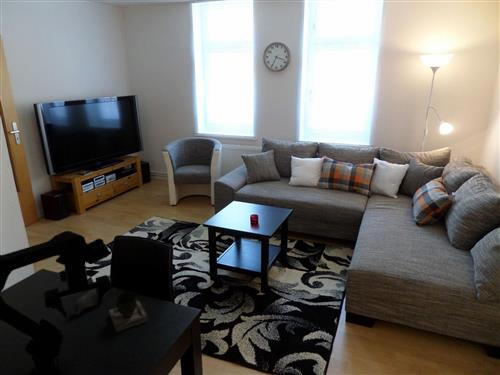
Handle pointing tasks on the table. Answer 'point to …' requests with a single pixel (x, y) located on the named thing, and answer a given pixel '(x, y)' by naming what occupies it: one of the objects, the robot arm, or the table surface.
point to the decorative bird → (87, 301)
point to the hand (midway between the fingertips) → (82, 313)
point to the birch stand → (135, 319)
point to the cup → (126, 303)
